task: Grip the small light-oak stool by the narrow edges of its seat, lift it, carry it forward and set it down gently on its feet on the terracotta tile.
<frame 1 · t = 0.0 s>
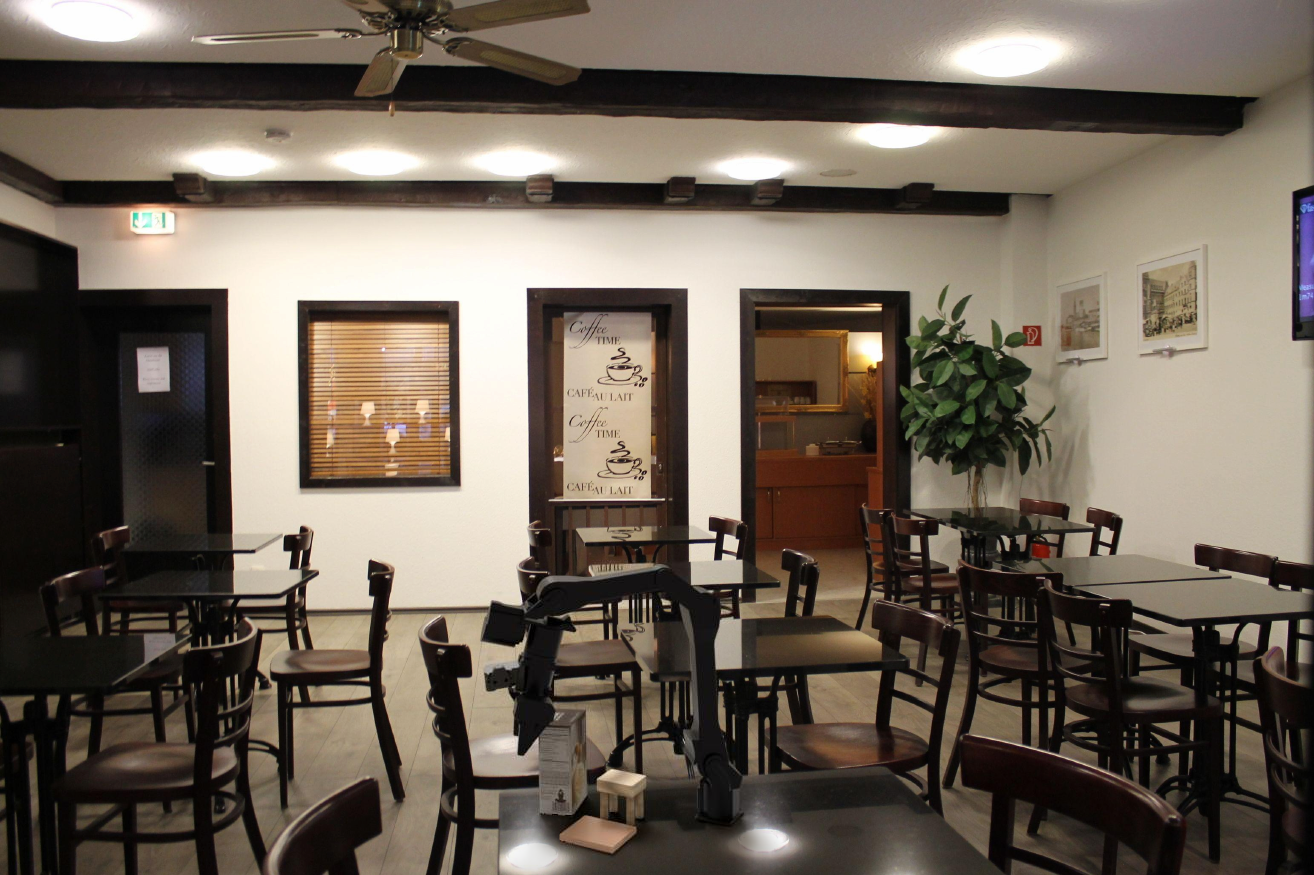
hand: (518, 745, 147), 15 cm above the table, tool pointing down, fingers open, 9 cm apart
coffee box: (563, 805, 160), on the table
oak stool: (621, 817, 155), on the table
terracotta tile: (598, 836, 148), on the table
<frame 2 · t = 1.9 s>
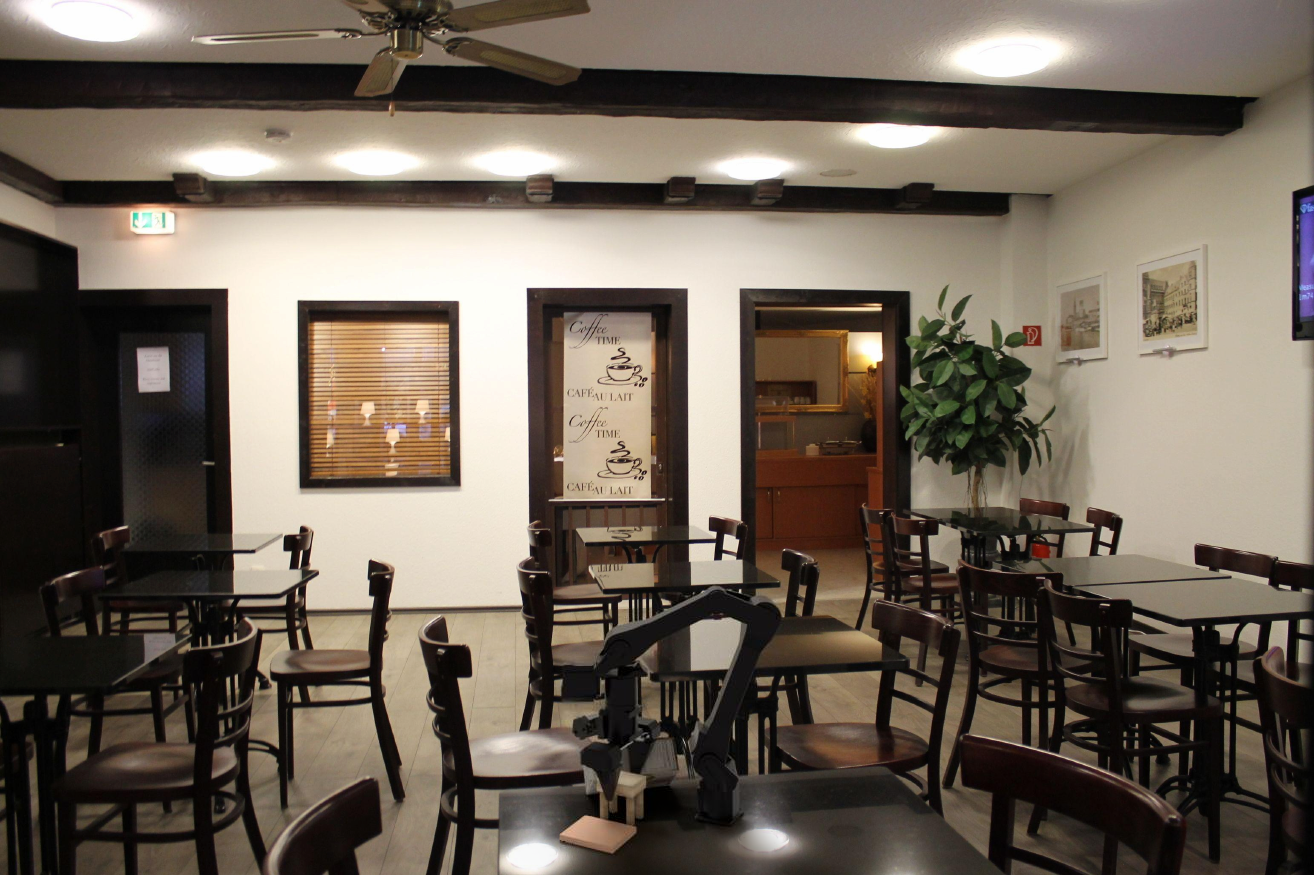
hand: (622, 790, 155), 5 cm above the table, tool pointing down, fingers open, 9 cm apart
coffee box: (586, 770, 162), point 5 cm above the table, touching gripper
everything else where it was.
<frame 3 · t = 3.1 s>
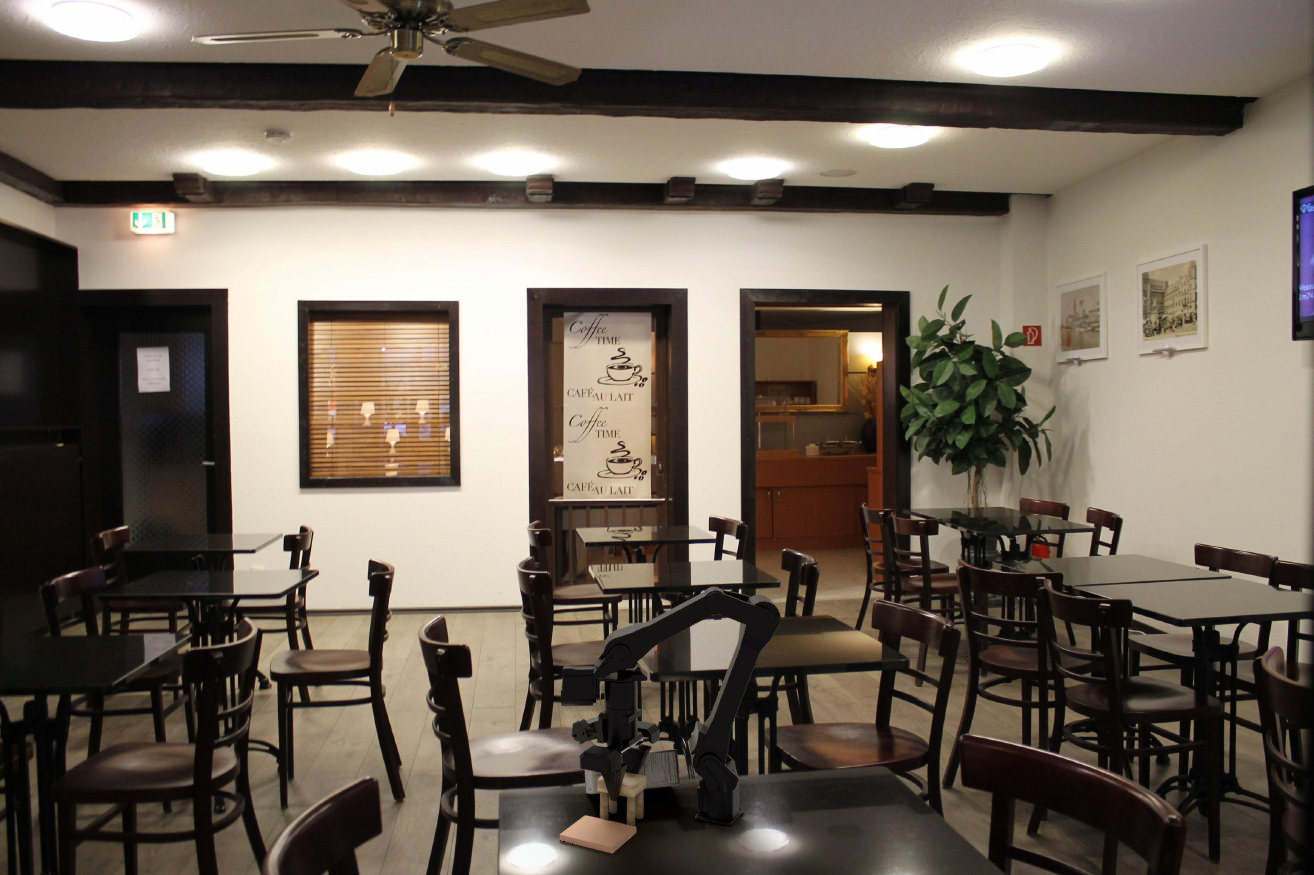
hand: (621, 794, 155), 4 cm above the table, tool pointing down, fingers closed on oak stool, 5 cm apart
coffee box: (587, 775, 162), point 4 cm above the table, touching oak stool
oak stool: (621, 817, 155), on the table, touching gripper, coffee box
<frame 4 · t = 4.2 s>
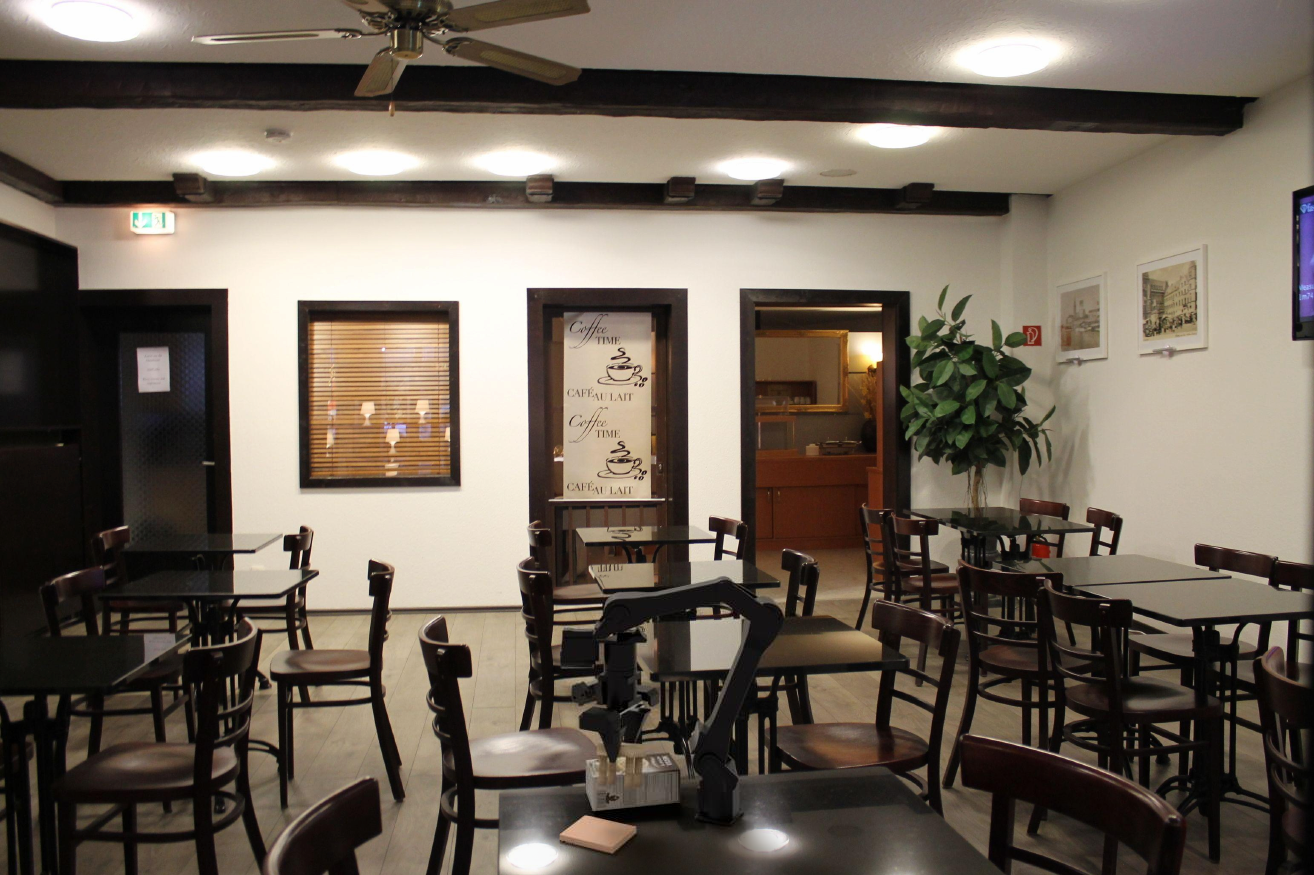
hand: (620, 756, 155), 11 cm above the table, tool pointing down, fingers closed on oak stool, 5 cm apart
coffee box: (587, 785, 161), point 3 cm above the table
oak stool: (619, 786, 153), point 6 cm above the table, tilted 17°, touching gripper
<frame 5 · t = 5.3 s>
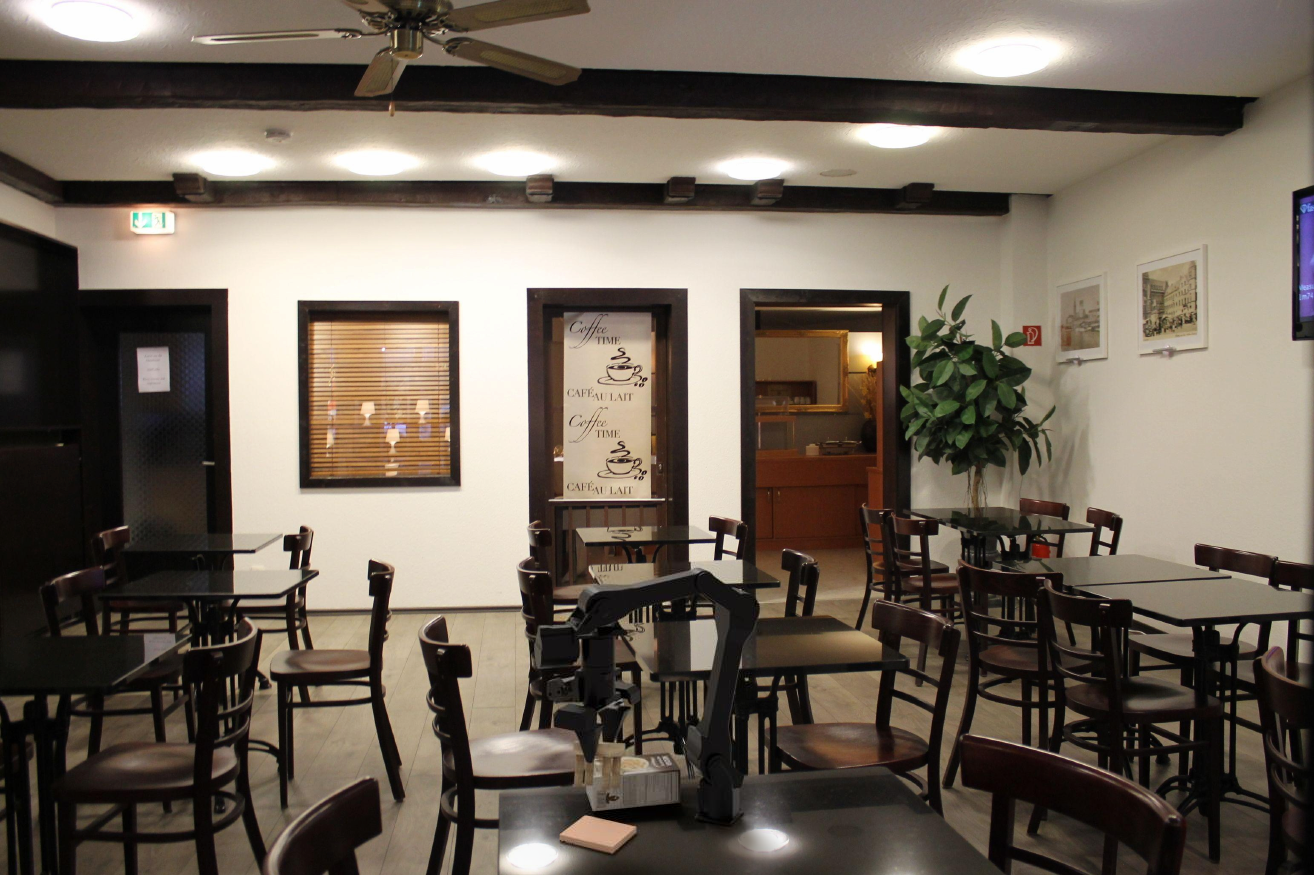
hand: (598, 756, 148), 13 cm above the table, tool pointing down, fingers closed on oak stool, 5 cm apart
oak stool: (596, 787, 146), point 9 cm above the table, tilted 17°, touching gripper
everything else where it was.
when the fingers open (6 cm above the table, at t = 7.8 s): oak stool stays where it is, resting on terracotta tile.
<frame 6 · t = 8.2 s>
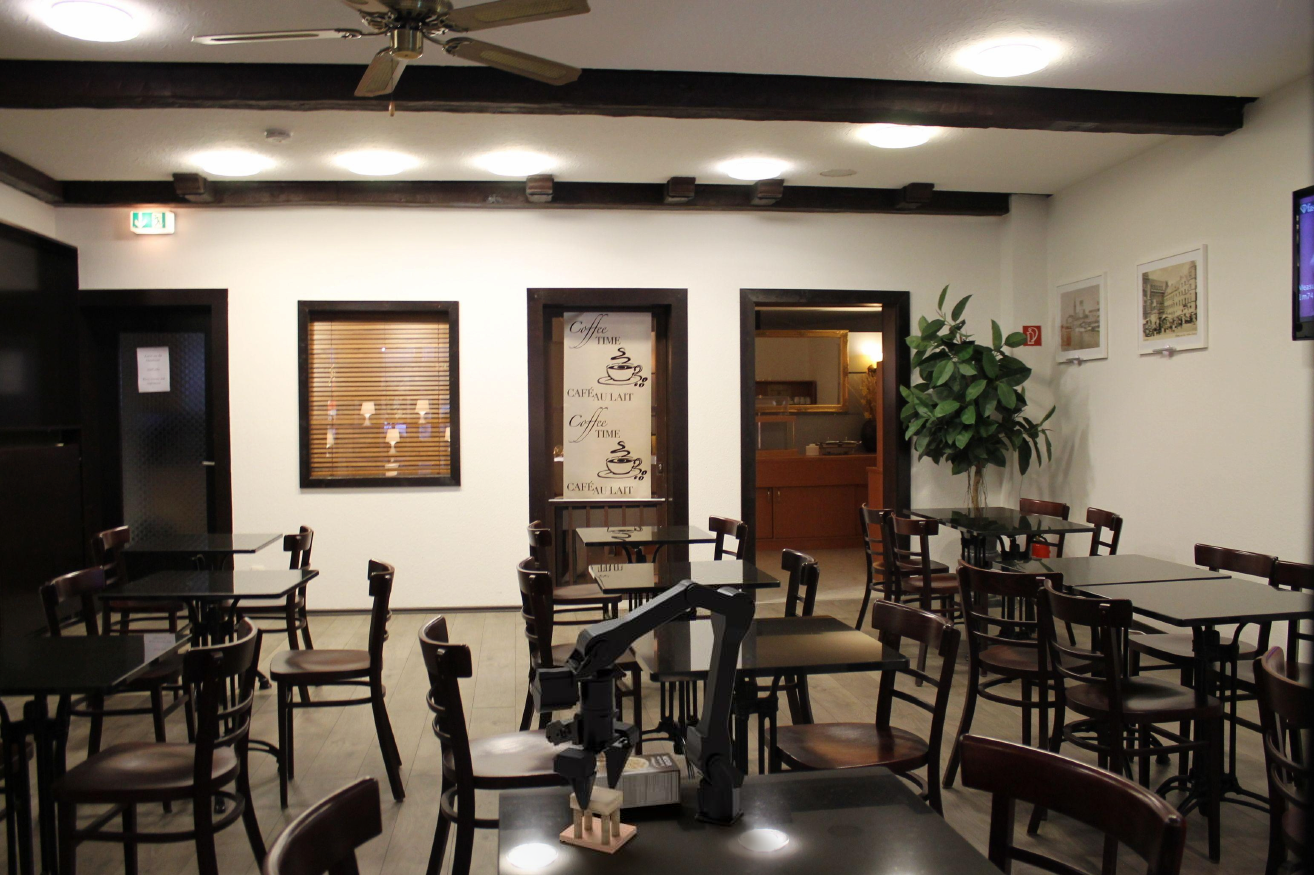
hand: (598, 798, 148), 6 cm above the table, tool pointing down, fingers open, 9 cm apart
oak stool: (596, 835, 146), point 1 cm above the table, touching terracotta tile
everything else where it was.
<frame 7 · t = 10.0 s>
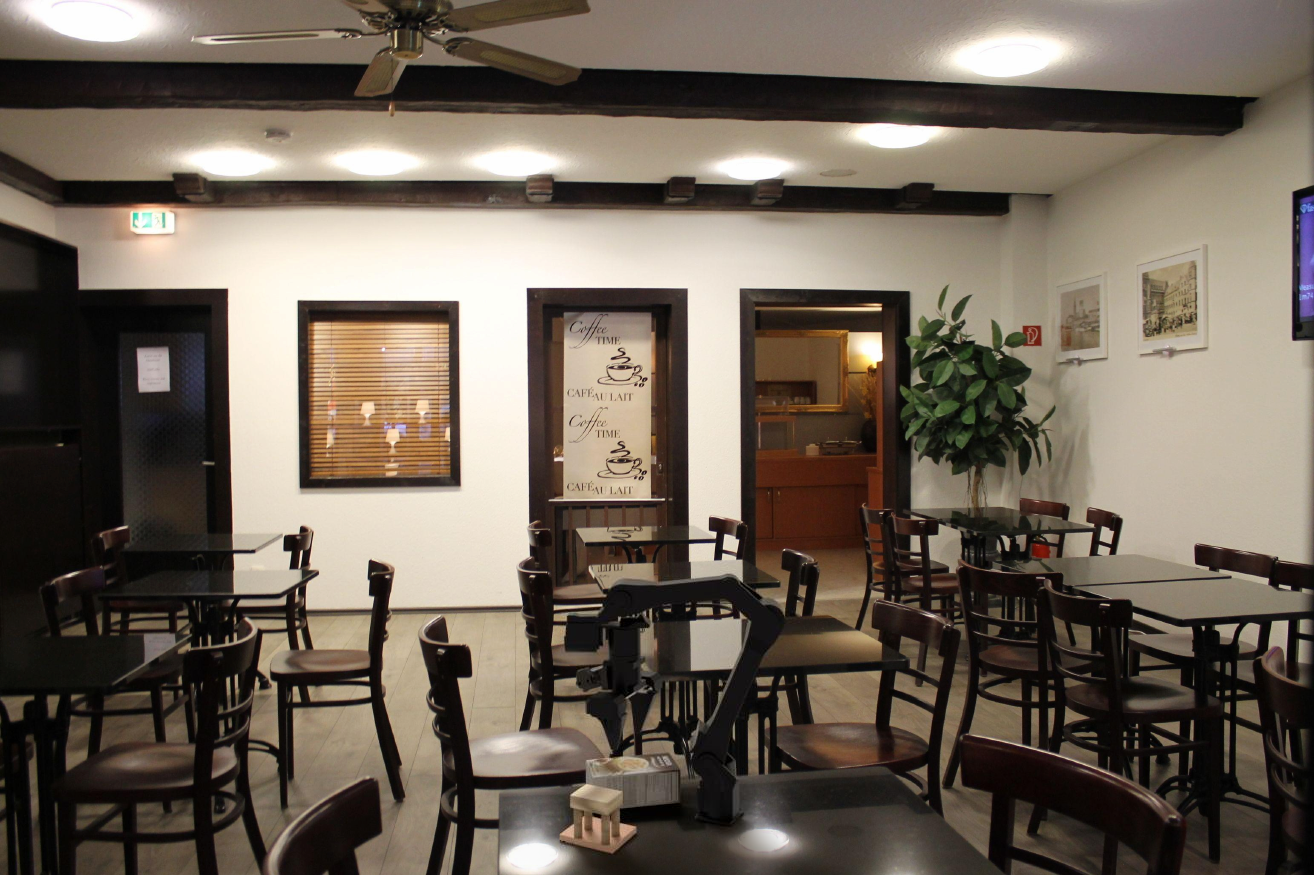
hand: (626, 741, 156), 13 cm above the table, tool pointing down, fingers open, 9 cm apart
nothing on the table moved.
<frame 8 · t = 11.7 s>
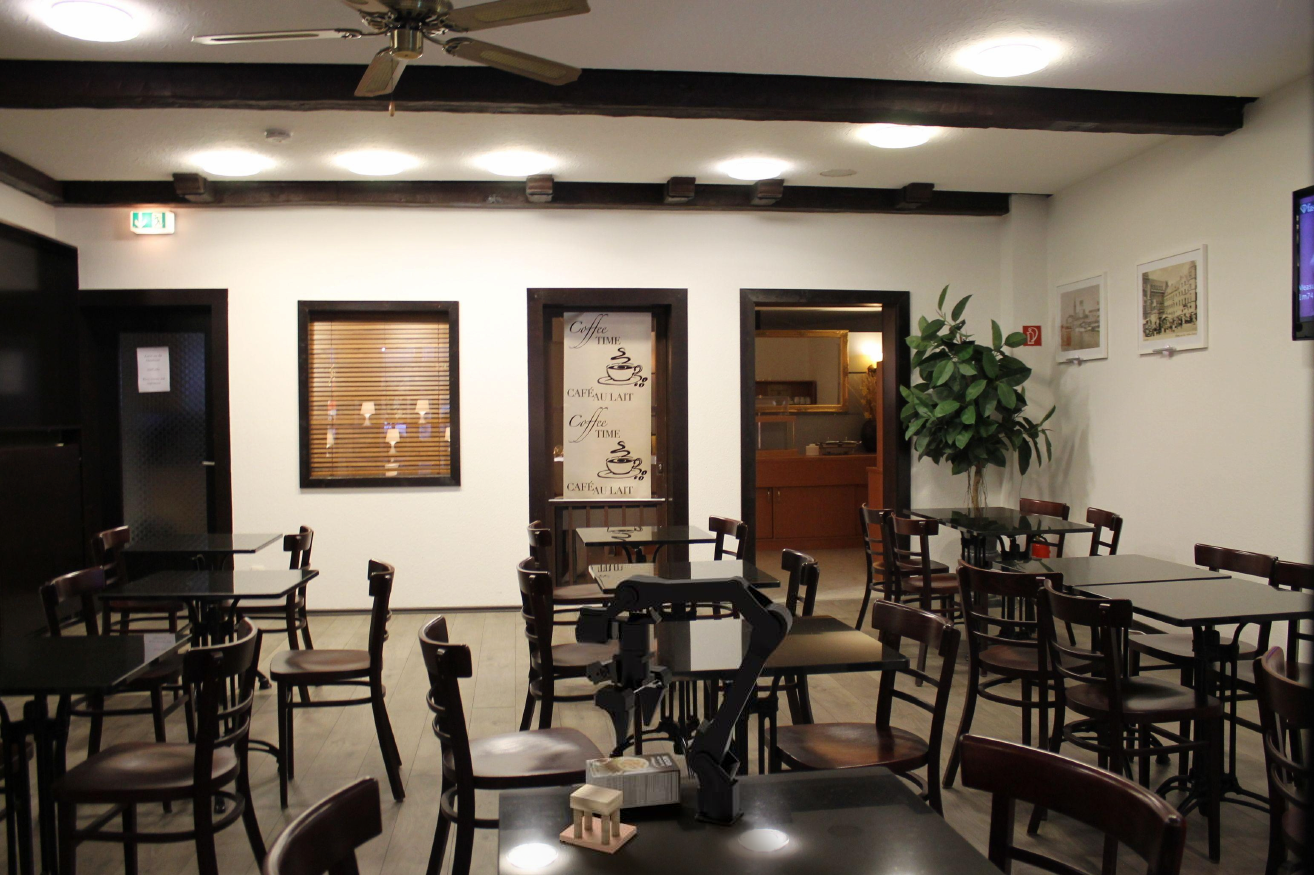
hand: (634, 734, 159), 13 cm above the table, tool pointing down, fingers open, 9 cm apart
nothing on the table moved.
at the end: oak stool 1.9 cm off-centre on the terracotta tile, point 1.0 cm above the terracotta tile's base; oak stool tilted 0°; the gripper is holding nothing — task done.
